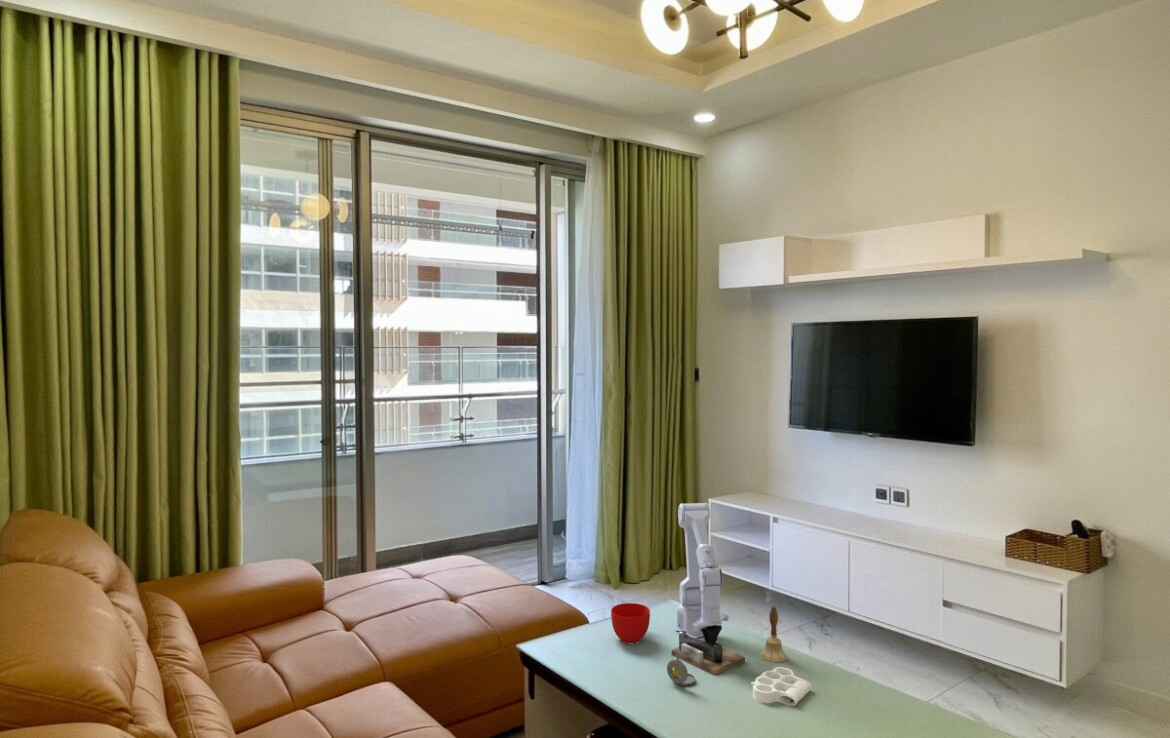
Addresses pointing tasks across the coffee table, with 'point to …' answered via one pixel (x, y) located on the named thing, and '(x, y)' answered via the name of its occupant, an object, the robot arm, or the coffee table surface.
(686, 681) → the pocket watch
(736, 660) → the press base
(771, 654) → the hand bell
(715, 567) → the robot arm
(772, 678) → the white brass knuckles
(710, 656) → the lever
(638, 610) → the ceramic cup
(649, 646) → the coffee table surface
